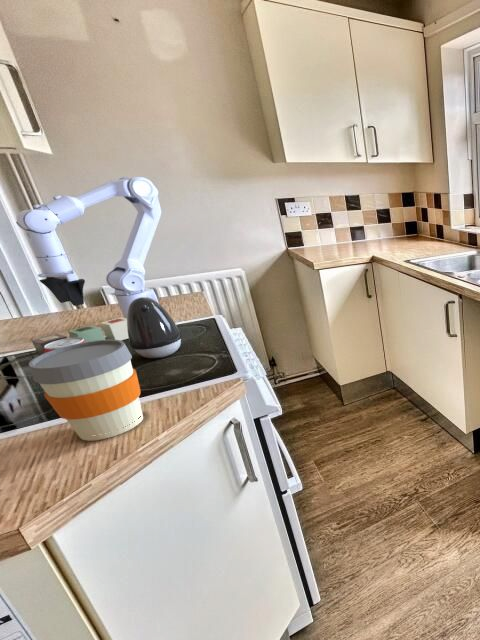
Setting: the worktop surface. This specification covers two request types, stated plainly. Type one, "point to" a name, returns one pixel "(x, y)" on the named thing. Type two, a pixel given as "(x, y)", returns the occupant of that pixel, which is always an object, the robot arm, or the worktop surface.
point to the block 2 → (88, 333)
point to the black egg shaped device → (151, 329)
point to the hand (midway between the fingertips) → (72, 303)
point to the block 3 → (115, 329)
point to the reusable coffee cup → (91, 387)
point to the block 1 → (46, 342)
